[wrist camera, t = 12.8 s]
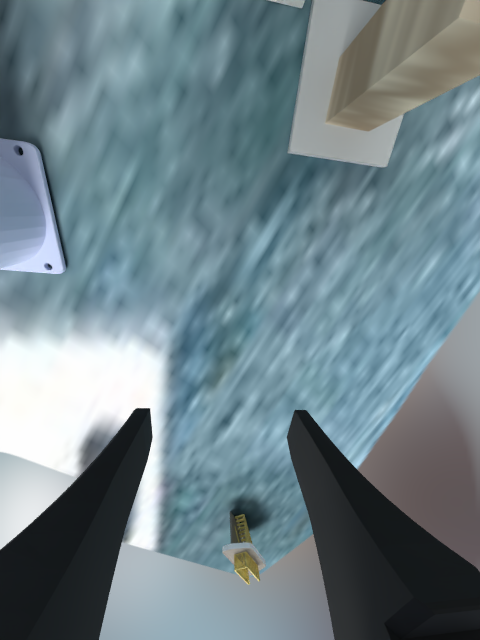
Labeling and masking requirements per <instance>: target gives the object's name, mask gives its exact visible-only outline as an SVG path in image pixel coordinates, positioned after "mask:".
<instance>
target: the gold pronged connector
mask: <svg viewBox="0 0 480 640" xmlns="http://www.w3.org/2000/svg"><path fill="white" fill-rule="evenodd" d="M242 517H243V518H242ZM238 518H242V519H239V520H238ZM242 521H244V522H242ZM239 522H242V523H239ZM242 525H244V526H242ZM244 529H245V530H244ZM230 533H231V544H228V545H224V546H223V554H224V555H225V556H226V557H227V558H228V559H229V560H230V561H231V562H232V563H233V564H234V566H235V570H234V571H235V572H236V573H237V574H238V575H239V576H240V577H241V578H242V579H243V580H244V581H245V582H246V583H247V584H250V581H249V576H251V575H254V576H255V577H256V579H257V580H258V581H260V579H259V571H260V570H261V569H263V568H264V567H265V566H266V564H265V560H264V558H263V557H262V556H261V554H260V553H259V552H258V551H257V549H256V548H255V547H254V545H253V544H252V541H251V537H250V533H249V529H248V526H247V522H246V518H245V514H242V515H239V516H235V517H234V515H233V514H232V513H231V512H230ZM248 581H249V582H248Z"/></svg>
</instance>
